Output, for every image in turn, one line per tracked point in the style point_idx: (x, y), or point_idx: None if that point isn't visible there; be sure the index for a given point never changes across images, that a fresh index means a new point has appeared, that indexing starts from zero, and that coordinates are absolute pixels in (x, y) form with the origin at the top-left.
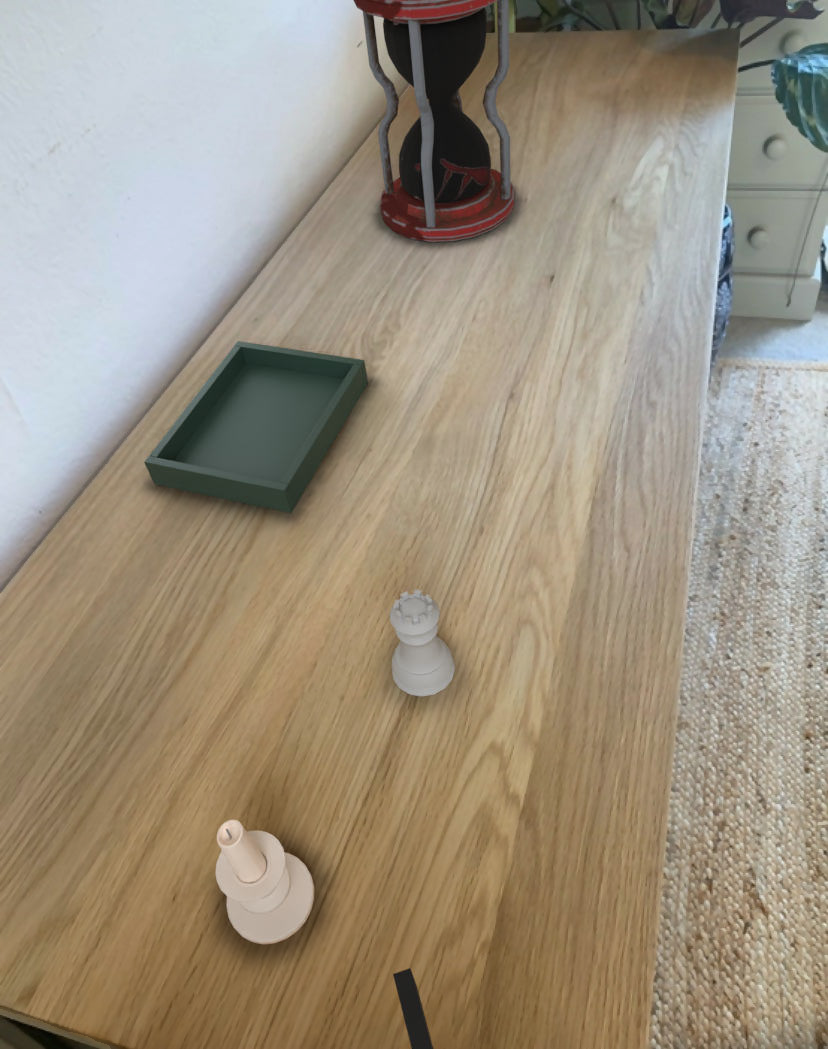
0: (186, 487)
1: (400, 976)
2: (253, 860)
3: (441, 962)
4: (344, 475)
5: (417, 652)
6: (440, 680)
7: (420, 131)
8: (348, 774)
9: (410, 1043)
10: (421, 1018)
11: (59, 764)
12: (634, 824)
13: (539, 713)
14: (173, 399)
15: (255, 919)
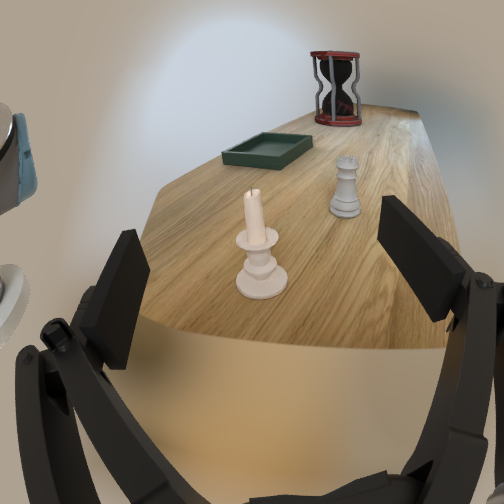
0: (236, 163)
1: (388, 197)
2: (261, 222)
3: (364, 314)
4: (303, 163)
5: (346, 186)
6: (355, 208)
7: (330, 93)
8: (307, 240)
9: (406, 221)
10: (410, 212)
11: (163, 230)
12: None
13: None
14: None
15: (252, 286)
